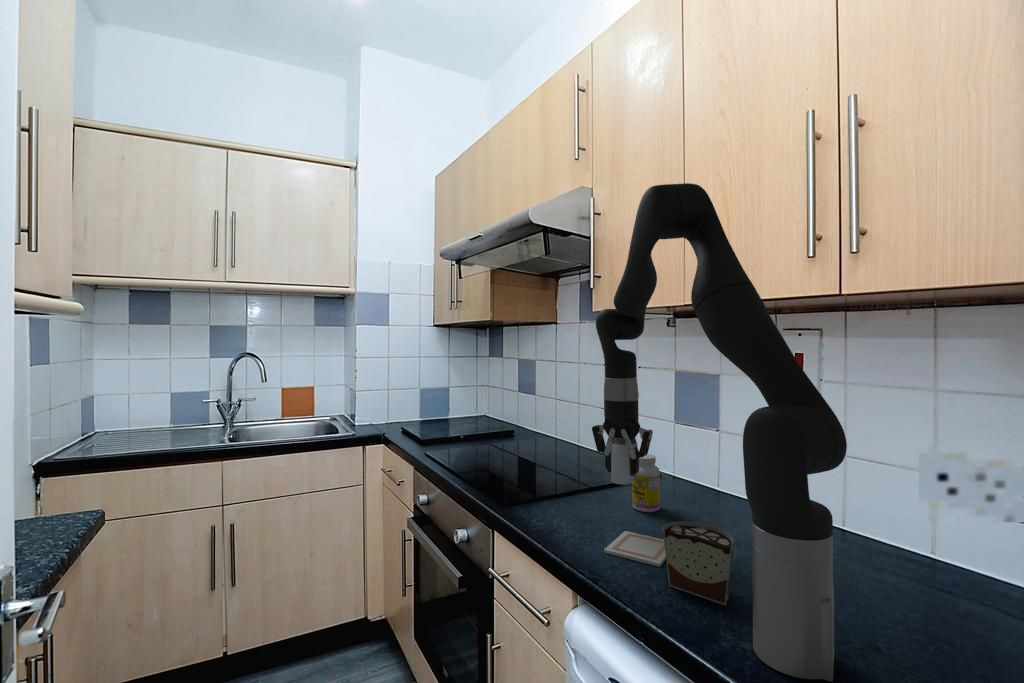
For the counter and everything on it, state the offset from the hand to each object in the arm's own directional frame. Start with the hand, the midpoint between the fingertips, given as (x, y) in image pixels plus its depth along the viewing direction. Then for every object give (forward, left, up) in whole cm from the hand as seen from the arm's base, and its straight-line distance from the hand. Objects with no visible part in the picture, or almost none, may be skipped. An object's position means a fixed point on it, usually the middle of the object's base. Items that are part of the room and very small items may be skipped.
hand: (622, 473), depth 111 cm
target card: (-8, +10, -12) cm, 17 cm away
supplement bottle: (-1, -13, -12) cm, 18 cm away
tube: (0, 0, -2) cm, 2 cm away
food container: (-22, +19, -12) cm, 31 cm away
